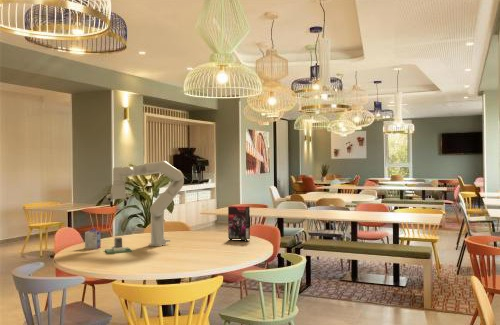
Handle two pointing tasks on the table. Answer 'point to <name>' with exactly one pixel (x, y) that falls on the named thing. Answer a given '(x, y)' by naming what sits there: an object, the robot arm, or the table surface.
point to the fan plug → (118, 242)
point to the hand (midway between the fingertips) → (118, 206)
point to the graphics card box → (239, 222)
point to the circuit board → (118, 250)
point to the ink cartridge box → (93, 239)
